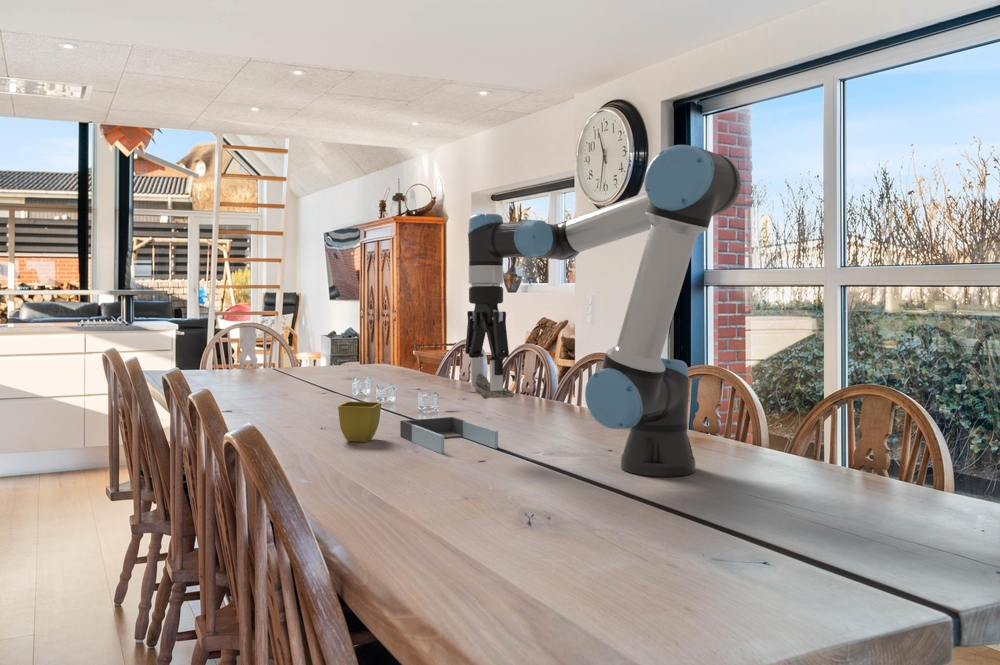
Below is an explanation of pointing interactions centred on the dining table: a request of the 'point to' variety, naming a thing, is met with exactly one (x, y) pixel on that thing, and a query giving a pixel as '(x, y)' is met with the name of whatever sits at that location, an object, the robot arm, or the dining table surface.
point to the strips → (469, 432)
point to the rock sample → (484, 389)
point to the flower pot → (359, 420)
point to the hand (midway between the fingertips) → (486, 388)
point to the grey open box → (434, 427)
